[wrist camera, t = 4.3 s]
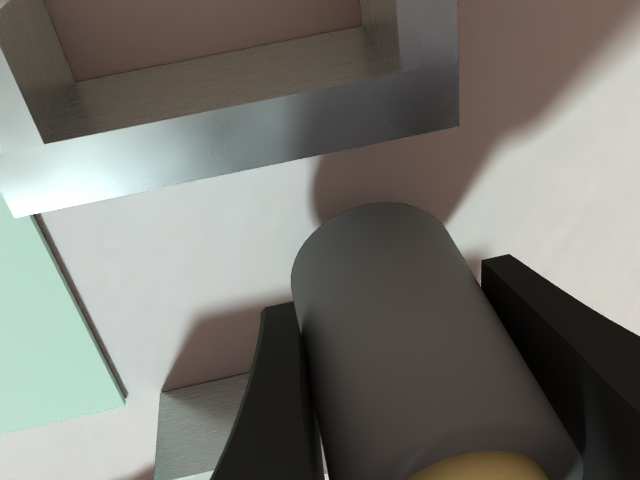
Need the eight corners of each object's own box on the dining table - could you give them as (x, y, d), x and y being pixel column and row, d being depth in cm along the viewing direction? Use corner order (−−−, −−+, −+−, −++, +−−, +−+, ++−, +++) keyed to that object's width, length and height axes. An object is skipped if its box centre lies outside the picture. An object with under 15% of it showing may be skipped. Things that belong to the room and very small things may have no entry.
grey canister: (449, 183, 13) (625, 443, 8) (458, 313, 16) (599, 581, 10) (273, 228, 13) (326, 522, 8) (309, 351, 16) (369, 643, 10)
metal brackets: (402, -91, 12) (456, -71, 9) (429, 361, 19) (463, 441, 16) (-20, -12, 11) (-83, 32, 9) (171, 419, 18) (167, 510, 16)
